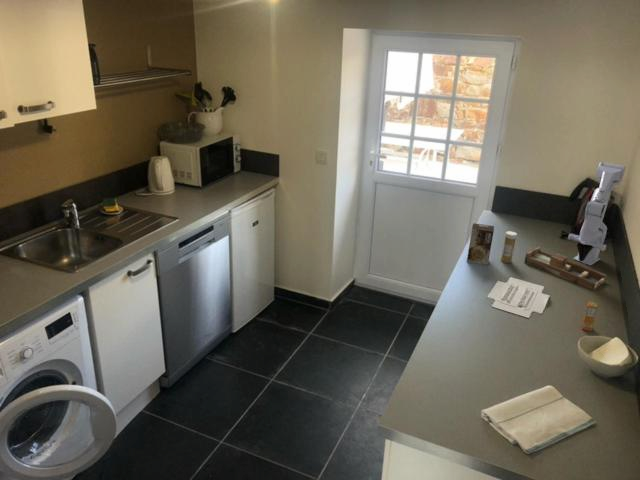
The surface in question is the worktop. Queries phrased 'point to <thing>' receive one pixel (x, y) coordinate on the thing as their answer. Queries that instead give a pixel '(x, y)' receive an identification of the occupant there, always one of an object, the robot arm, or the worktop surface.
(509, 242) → the sprinkles bottle
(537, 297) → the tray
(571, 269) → the brown wooden open box
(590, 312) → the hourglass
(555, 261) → the walnut block
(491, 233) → the coffee box
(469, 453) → the worktop surface
